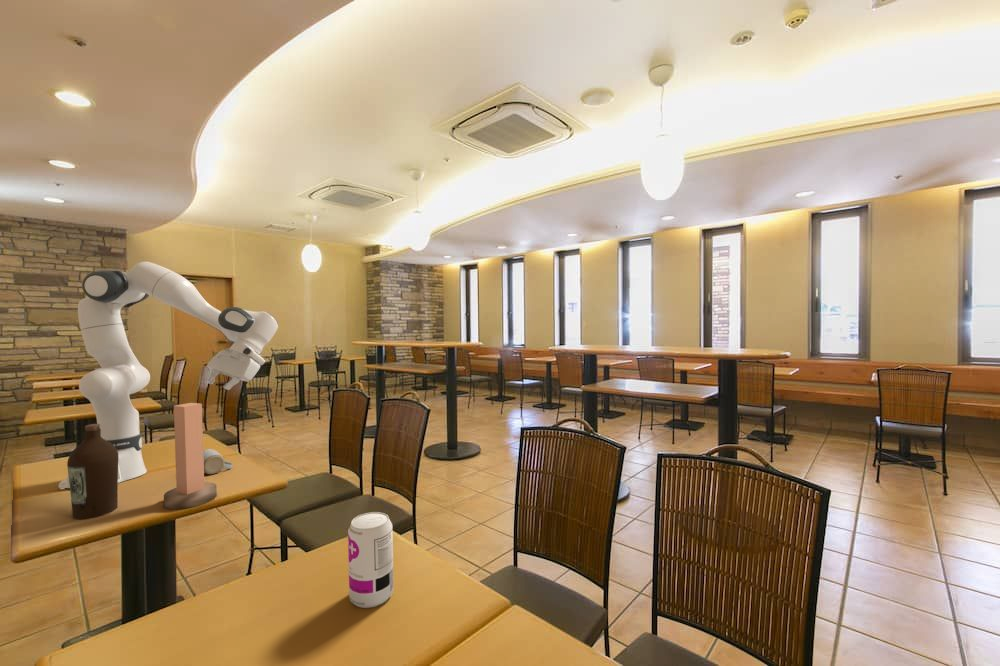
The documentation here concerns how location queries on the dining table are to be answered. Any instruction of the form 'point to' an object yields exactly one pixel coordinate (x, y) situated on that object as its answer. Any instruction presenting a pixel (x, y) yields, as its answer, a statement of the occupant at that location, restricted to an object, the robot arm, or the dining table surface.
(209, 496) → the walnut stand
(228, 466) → the ceramic mug
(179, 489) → the terracotta post
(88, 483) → the olive oil
